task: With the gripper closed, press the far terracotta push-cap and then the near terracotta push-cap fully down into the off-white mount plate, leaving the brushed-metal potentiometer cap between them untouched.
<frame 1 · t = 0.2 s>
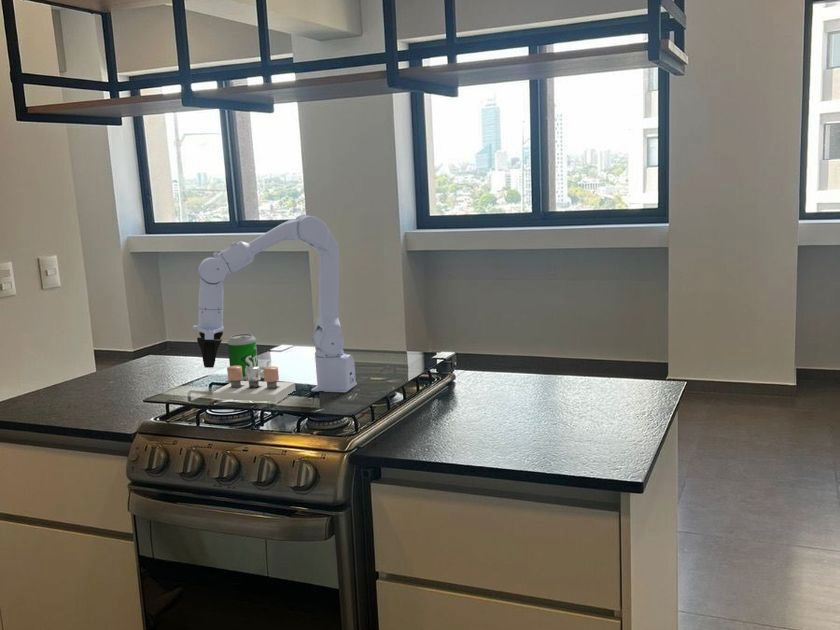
hand: (209, 364, 199), 10 cm above the worktop, tool pointing down, fingers open, 7 cm apart
middle pot cap: (253, 377, 205), point 5 cm above the worktop, slide at 0.0 cm
far cap: (235, 377, 206), point 5 cm above the worktop, slide at 0.0 cm
mount plate: (254, 397, 206), on the worktop
soda can: (245, 380, 224), on the worktop
near cap: (271, 378, 203), point 5 cm above the worktop, slide at 0.0 cm
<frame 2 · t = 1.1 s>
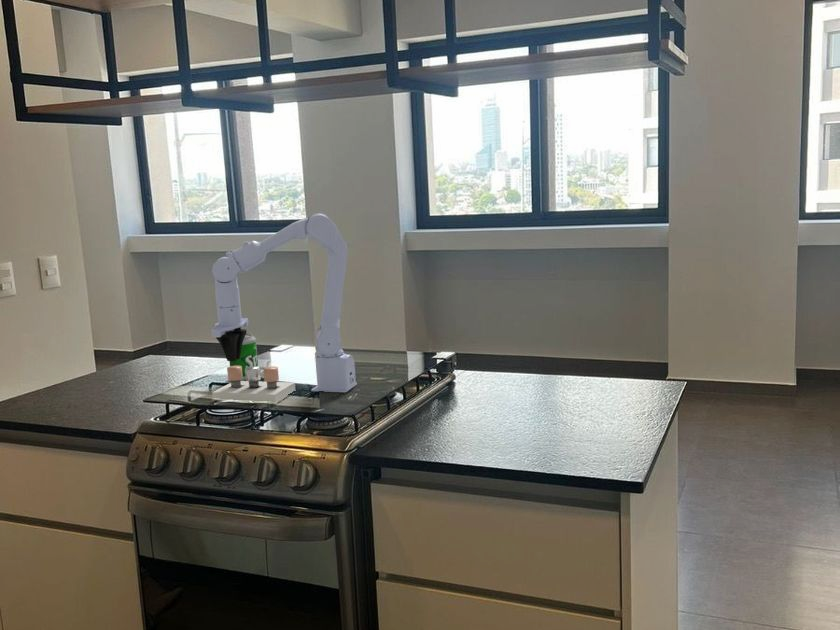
hand: (233, 359, 206), 9 cm above the worktop, tool pointing down, fingers closed
nothing on the worktop moved.
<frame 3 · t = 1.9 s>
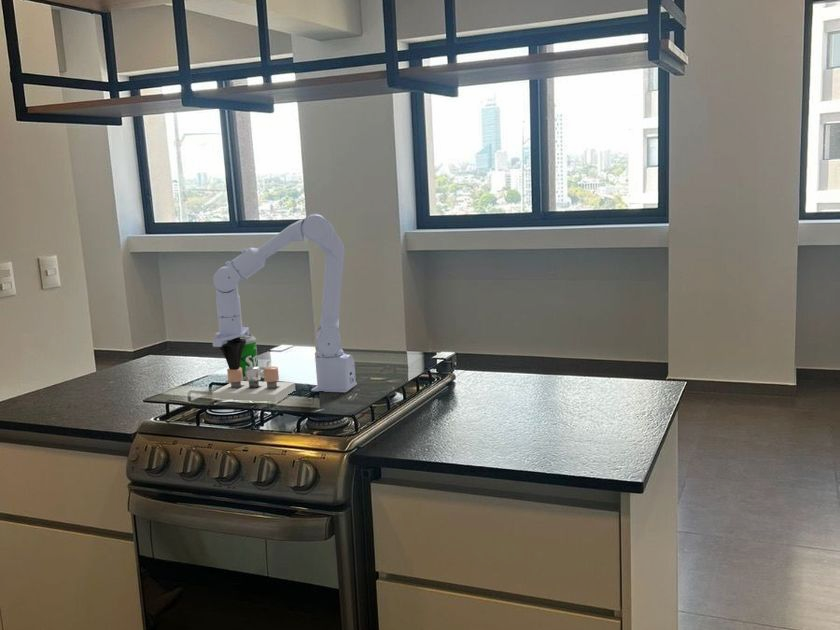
hand: (234, 369, 206), 7 cm above the worktop, tool pointing down, fingers closed, pressing on far cap
far cap: (235, 378, 206), point 5 cm above the worktop, slide at 0.4 cm, touching gripper
everything else where it was.
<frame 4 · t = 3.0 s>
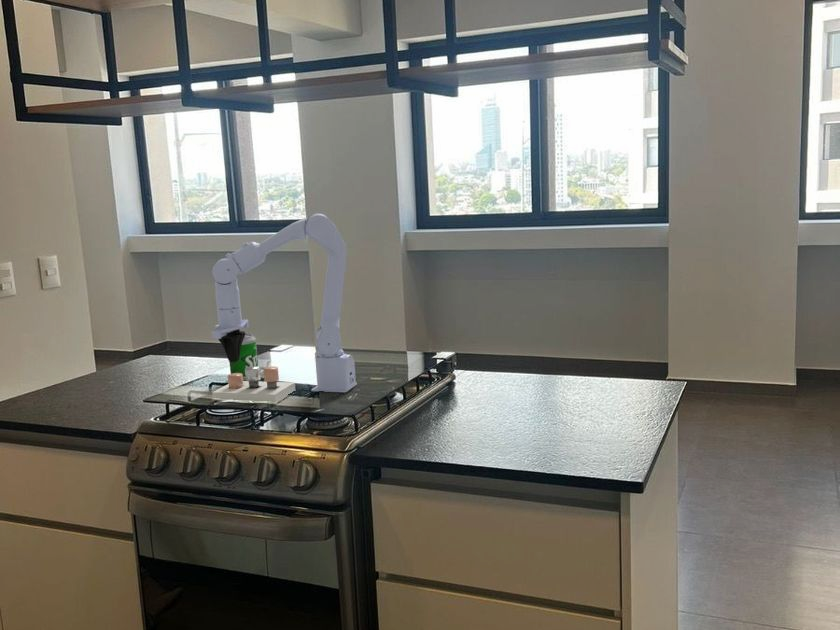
hand: (233, 361, 206), 9 cm above the worktop, tool pointing down, fingers closed
far cap: (236, 384, 207), point 3 cm above the worktop, slide at 1.9 cm
everything else where it was.
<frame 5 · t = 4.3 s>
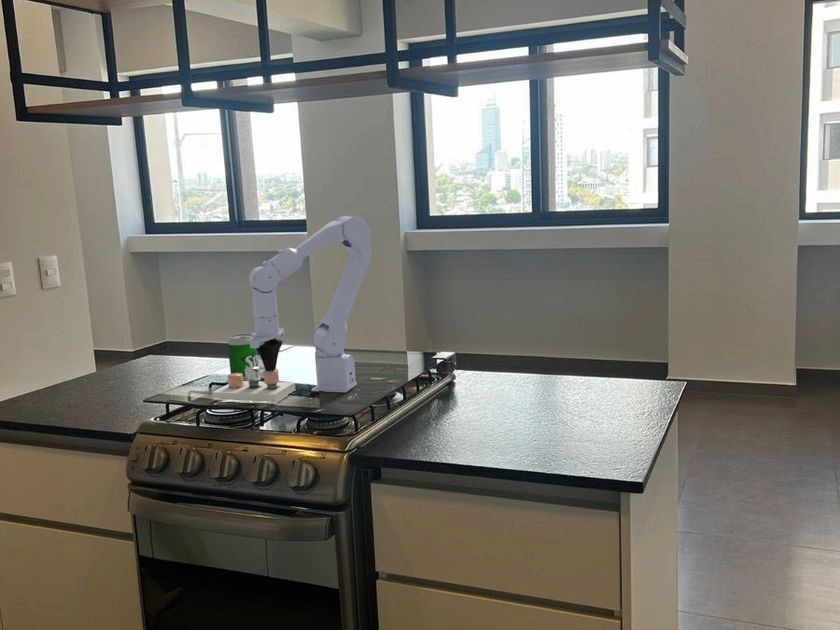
hand: (270, 370, 203), 7 cm above the worktop, tool pointing down, fingers closed, pressing on near cap
near cap: (271, 380, 203), point 4 cm above the worktop, slide at 0.5 cm, touching gripper
everything else where it was.
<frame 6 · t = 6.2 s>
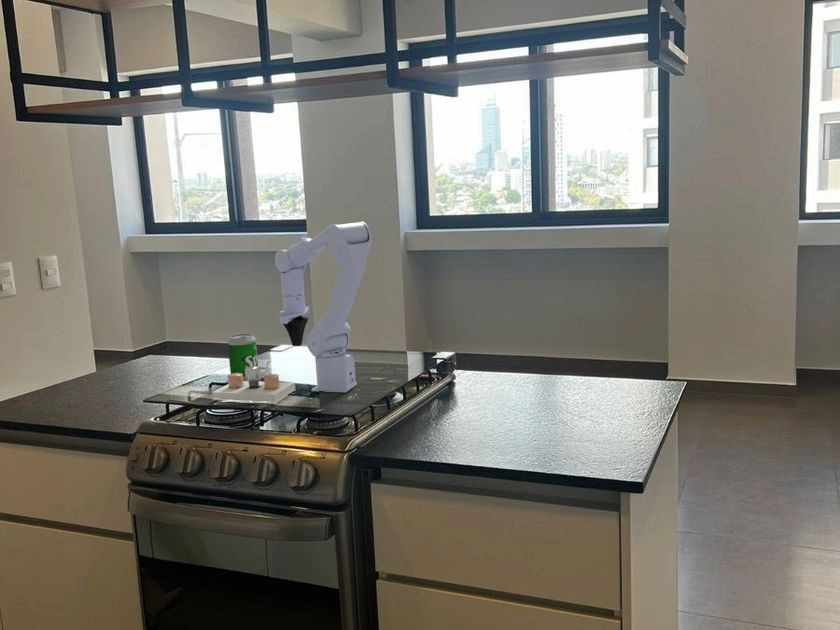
hand: (297, 345, 218), 9 cm above the worktop, tool pointing down, fingers closed
near cap: (272, 385, 204), point 3 cm above the worktop, slide at 2.0 cm
everything else where it was.
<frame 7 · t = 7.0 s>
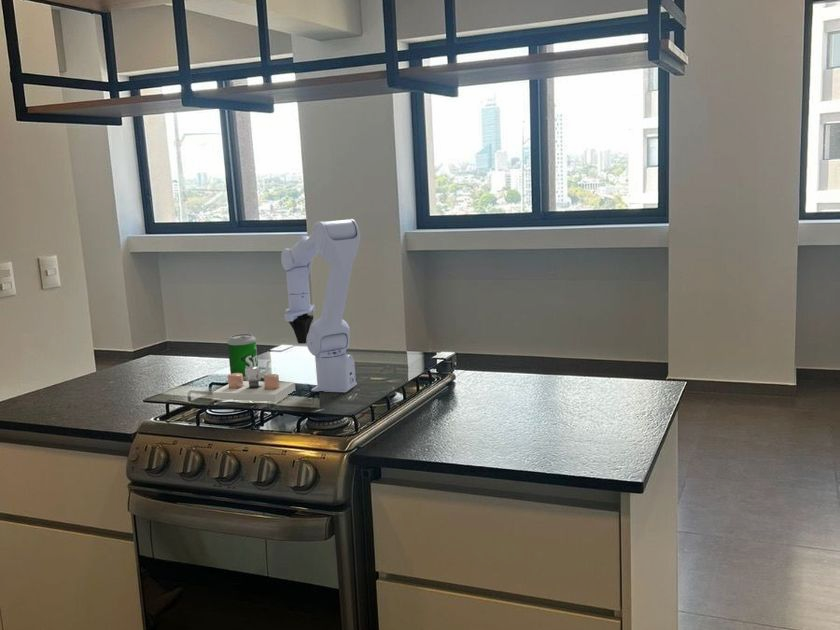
hand: (302, 343, 221), 9 cm above the worktop, tool pointing down, fingers closed
nothing on the worktop moved.
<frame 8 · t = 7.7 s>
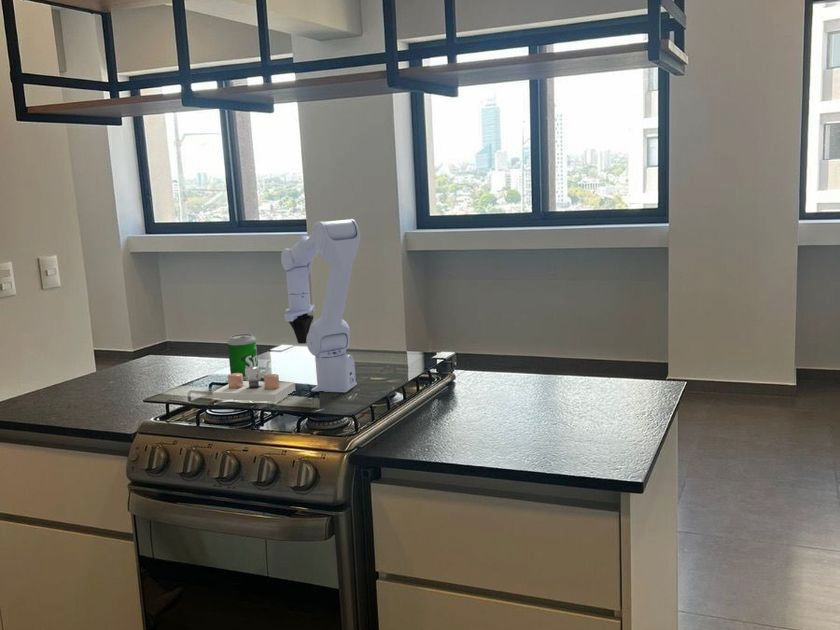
hand: (302, 343, 221), 9 cm above the worktop, tool pointing down, fingers closed
nothing on the worktop moved.
at the end: far cap slide at 1.9 cm; near cap slide at 2.0 cm; middle pot cap slide at 0.0 cm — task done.
